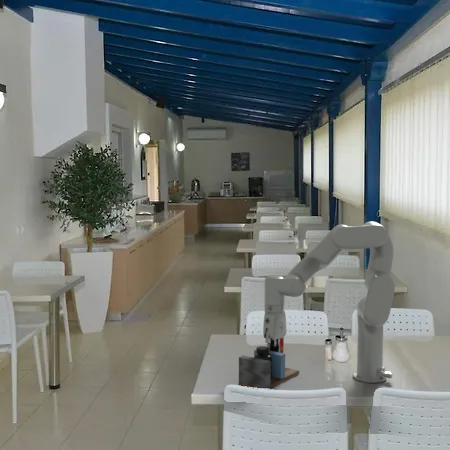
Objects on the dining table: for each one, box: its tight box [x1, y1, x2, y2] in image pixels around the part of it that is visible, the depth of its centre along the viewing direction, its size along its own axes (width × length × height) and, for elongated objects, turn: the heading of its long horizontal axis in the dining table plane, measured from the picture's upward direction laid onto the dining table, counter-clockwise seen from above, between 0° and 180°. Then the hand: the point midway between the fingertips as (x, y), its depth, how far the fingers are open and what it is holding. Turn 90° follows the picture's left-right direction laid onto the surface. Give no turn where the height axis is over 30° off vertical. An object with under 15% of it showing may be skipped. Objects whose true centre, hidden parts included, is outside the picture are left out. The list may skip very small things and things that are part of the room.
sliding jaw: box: [253, 349, 286, 379], centre depth 254 cm, size 12×3×9 cm, turn 54°
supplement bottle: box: [253, 345, 272, 379], centre depth 250 cm, size 7×7×12 cm
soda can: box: [266, 336, 285, 353], centre depth 287 cm, size 7×7×12 cm
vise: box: [238, 355, 300, 390], centre depth 254 cm, size 12×24×10 cm, turn 144°
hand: (274, 355), depth 256 cm, fingers closed
